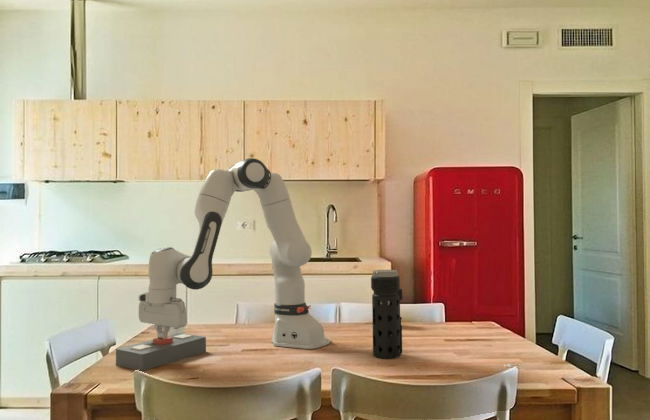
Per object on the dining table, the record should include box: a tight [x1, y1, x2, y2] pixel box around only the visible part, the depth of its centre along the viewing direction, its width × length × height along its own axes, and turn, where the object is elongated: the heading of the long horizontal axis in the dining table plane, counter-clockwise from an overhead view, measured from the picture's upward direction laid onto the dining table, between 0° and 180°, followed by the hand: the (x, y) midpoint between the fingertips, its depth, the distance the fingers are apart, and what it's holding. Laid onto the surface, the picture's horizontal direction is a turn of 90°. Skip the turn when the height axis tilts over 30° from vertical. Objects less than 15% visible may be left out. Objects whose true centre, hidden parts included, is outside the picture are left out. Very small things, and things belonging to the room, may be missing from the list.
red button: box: [152, 337, 173, 345], centre depth 164 cm, size 4×4×5 cm
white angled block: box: [168, 326, 186, 336], centre depth 196 cm, size 4×10×9 cm
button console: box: [115, 333, 207, 372], centre depth 164 cm, size 13×26×5 cm, turn 148°
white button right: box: [173, 333, 193, 340], centre depth 172 cm, size 4×4×5 cm
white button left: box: [131, 344, 152, 351], centre depth 157 cm, size 4×4×5 cm
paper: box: [453, 354, 521, 369], centre depth 154 cm, size 25×17×1 cm
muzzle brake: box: [370, 269, 403, 360], centre depth 165 cm, size 10×28×10 cm
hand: (162, 338), depth 164 cm, fingers closed, pressing on red button
